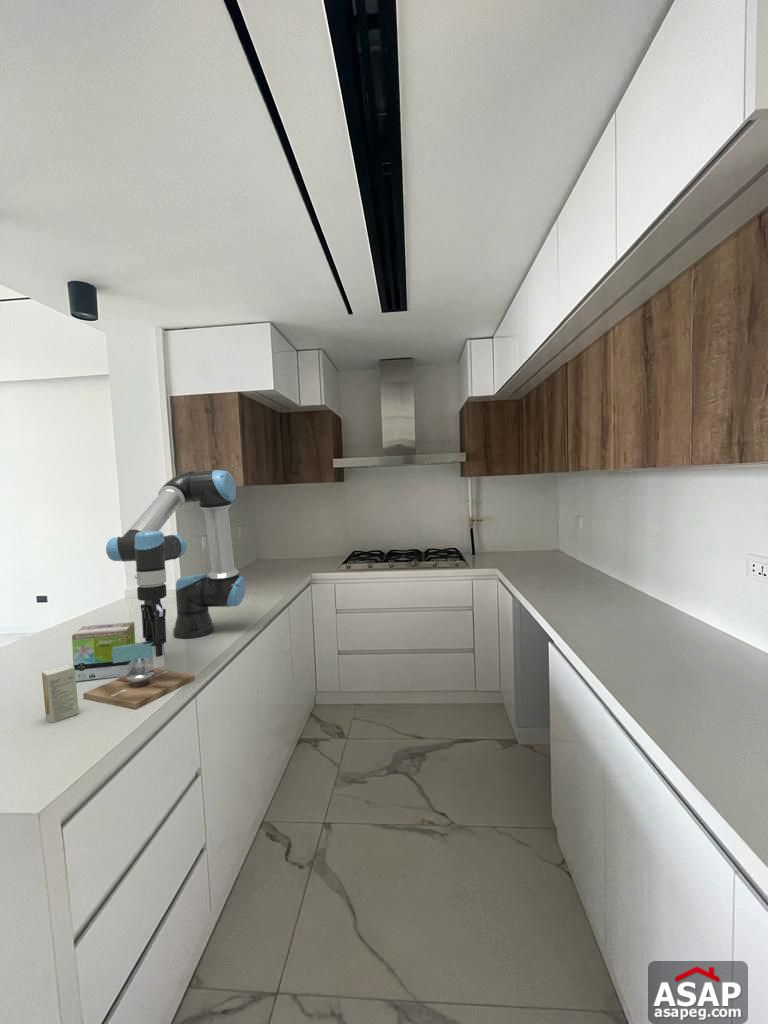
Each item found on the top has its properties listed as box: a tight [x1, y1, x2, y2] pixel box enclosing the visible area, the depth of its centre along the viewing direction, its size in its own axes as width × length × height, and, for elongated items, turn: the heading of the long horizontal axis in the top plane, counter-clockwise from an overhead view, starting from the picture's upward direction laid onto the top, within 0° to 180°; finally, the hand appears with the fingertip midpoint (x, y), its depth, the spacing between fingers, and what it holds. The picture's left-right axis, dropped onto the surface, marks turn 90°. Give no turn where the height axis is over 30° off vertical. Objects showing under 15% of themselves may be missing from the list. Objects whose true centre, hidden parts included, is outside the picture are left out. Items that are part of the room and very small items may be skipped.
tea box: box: [71, 621, 136, 683], centre depth 145 cm, size 15×10×15 cm, turn 105°
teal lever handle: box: [112, 641, 166, 682], centre depth 133 cm, size 7×13×10 cm, turn 117°
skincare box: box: [41, 663, 80, 724], centre depth 117 cm, size 6×4×12 cm
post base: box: [82, 666, 196, 710], centre depth 133 cm, size 20×20×3 cm
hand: (155, 664), depth 135 cm, fingers open, 4 cm apart
